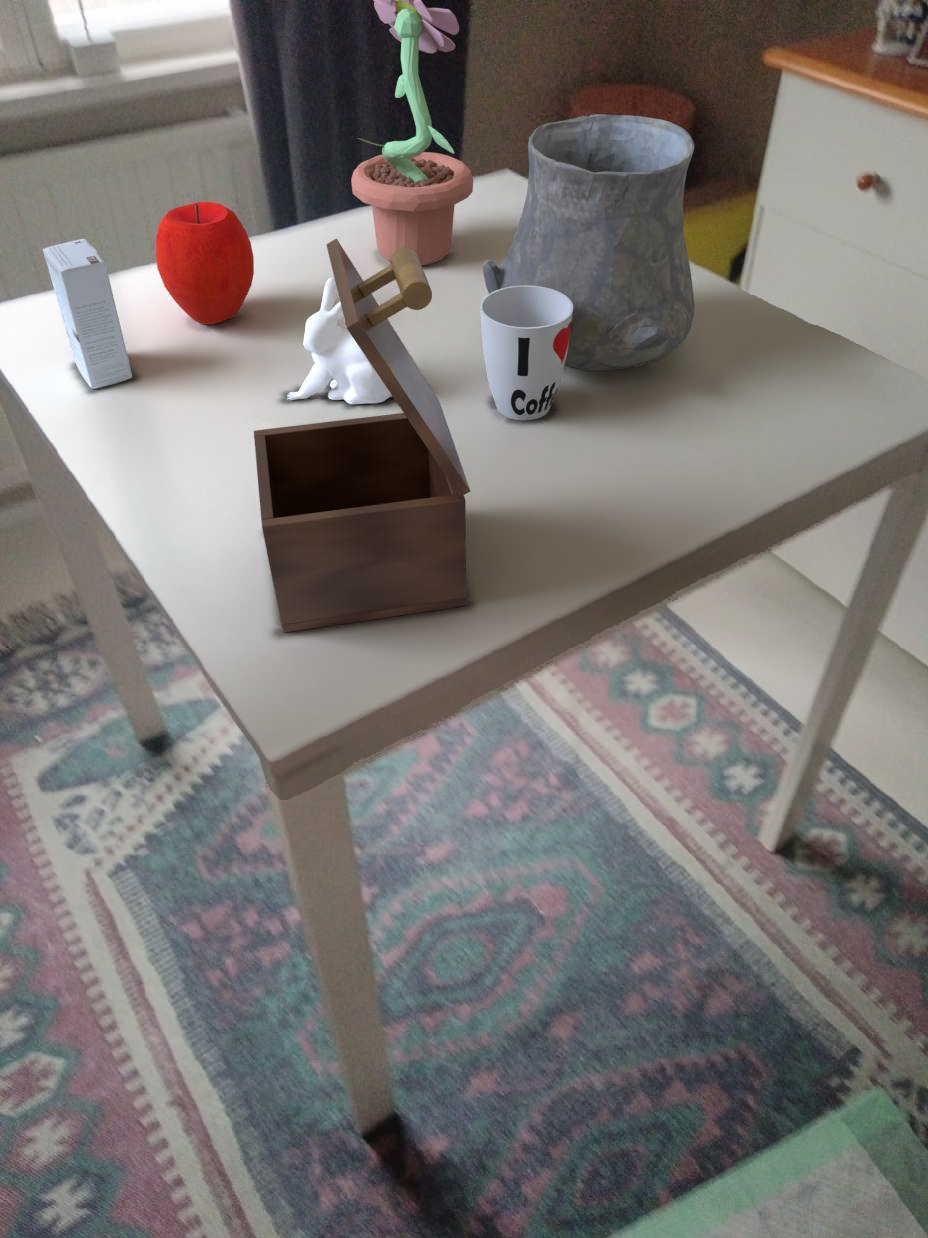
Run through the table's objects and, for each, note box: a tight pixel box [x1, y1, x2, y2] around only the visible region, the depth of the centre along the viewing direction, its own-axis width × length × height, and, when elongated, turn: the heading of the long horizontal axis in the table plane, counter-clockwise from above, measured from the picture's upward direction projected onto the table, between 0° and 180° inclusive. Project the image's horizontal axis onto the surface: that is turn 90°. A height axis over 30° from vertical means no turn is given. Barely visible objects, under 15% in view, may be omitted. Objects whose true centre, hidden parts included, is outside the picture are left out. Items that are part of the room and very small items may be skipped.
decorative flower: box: [350, 0, 474, 266], centre depth 106 cm, size 15×14×30 cm
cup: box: [479, 285, 573, 421], centre depth 89 cm, size 8×8×10 cm
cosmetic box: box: [42, 238, 133, 390], centre depth 93 cm, size 6×4×12 cm
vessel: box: [482, 113, 696, 371], centre depth 93 cm, size 22×22×20 cm
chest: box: [253, 412, 468, 633], centre depth 72 cm, size 14×12×10 cm
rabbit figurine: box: [286, 276, 397, 405], centre depth 92 cm, size 12×8×10 cm, turn 79°
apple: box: [155, 201, 255, 325], centre depth 101 cm, size 10×10×12 cm
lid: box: [326, 238, 471, 497], centre depth 64 cm, size 14×12×5 cm
